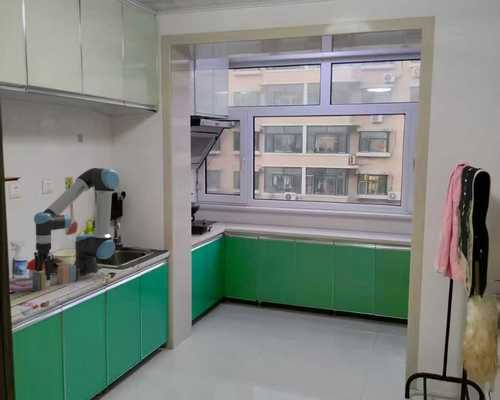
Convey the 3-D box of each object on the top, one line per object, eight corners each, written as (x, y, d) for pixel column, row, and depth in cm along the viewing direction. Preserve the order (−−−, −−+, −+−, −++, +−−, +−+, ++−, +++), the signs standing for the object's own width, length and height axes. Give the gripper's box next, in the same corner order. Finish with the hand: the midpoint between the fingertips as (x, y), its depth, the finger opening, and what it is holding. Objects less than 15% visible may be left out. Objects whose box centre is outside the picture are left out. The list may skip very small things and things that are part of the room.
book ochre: (37, 288, 251) (37, 271, 250) (45, 285, 255) (45, 269, 254) (41, 289, 249) (41, 272, 248) (50, 287, 253) (50, 271, 252)
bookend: (34, 288, 250) (34, 271, 249) (39, 290, 247) (39, 273, 246) (28, 289, 247) (27, 273, 246) (33, 291, 244) (33, 274, 243)
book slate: (70, 279, 269) (70, 264, 268) (76, 281, 267) (76, 265, 266) (64, 280, 266) (64, 265, 265) (70, 282, 263) (70, 266, 262)
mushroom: (27, 276, 275) (26, 256, 274) (47, 275, 279) (47, 255, 278) (25, 281, 266) (25, 260, 264) (46, 280, 269) (46, 260, 268)
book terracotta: (63, 281, 265) (63, 265, 264) (69, 282, 263) (69, 267, 262) (57, 282, 262) (57, 266, 261) (63, 284, 259) (63, 268, 259)
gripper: (26, 241, 251) (27, 283, 253) (47, 245, 242) (48, 289, 244) (39, 239, 257) (39, 280, 260) (60, 243, 248) (60, 286, 250)
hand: (43, 284), depth 252 cm, fingers open, 5 cm apart
